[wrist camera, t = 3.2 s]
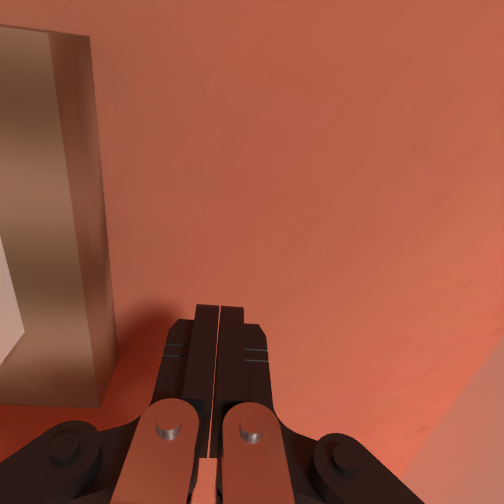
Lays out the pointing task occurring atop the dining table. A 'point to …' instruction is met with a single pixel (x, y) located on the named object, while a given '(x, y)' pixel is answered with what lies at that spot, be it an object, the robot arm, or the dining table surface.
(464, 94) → the dining table surface
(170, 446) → the robot arm
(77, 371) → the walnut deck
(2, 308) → the cream tile
